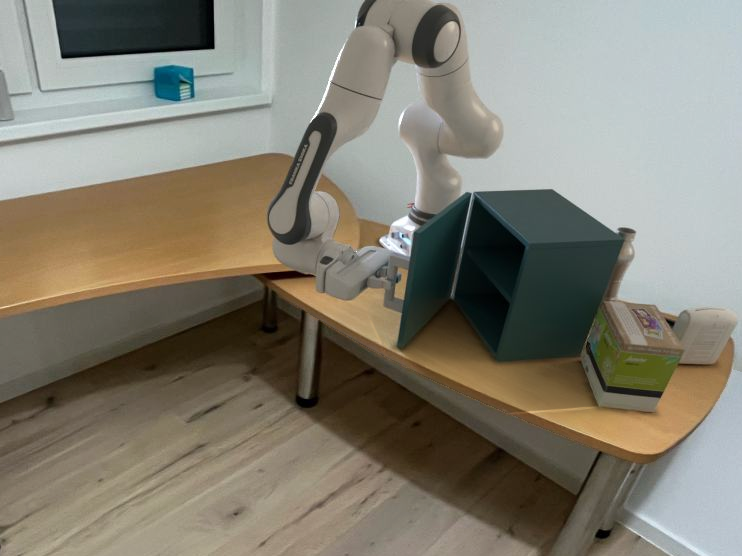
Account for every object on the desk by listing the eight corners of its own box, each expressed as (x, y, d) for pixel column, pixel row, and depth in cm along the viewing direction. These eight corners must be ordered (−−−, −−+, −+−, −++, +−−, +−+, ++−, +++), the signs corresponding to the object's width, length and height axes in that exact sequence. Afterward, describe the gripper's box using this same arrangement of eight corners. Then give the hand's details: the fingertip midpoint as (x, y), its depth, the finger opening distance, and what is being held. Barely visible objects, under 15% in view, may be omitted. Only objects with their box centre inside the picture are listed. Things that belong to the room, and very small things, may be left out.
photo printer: (705, 353, 119) (733, 303, 111) (718, 366, 115) (747, 314, 108) (656, 352, 119) (680, 302, 112) (667, 365, 115) (692, 313, 108)
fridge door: (373, 338, 122) (387, 224, 107) (424, 289, 140) (442, 186, 125) (401, 348, 119) (419, 233, 104) (450, 298, 137) (472, 192, 122)
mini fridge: (497, 362, 116) (530, 243, 100) (451, 297, 137) (473, 191, 122) (580, 357, 117) (625, 239, 102) (522, 293, 139) (552, 188, 124)
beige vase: (615, 319, 130) (648, 238, 118) (584, 315, 131) (614, 235, 119) (608, 304, 135) (639, 226, 123) (578, 301, 136) (606, 223, 124)
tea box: (577, 360, 116) (601, 297, 108) (629, 365, 115) (658, 303, 106) (596, 407, 104) (625, 341, 96) (655, 414, 103) (689, 348, 94)
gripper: (361, 259, 131) (416, 276, 124) (311, 294, 117) (370, 316, 111) (363, 234, 127) (420, 250, 121) (313, 267, 114) (373, 287, 107)
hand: (395, 282), depth 116 cm, fingers closed on fridge door, 2 cm apart
